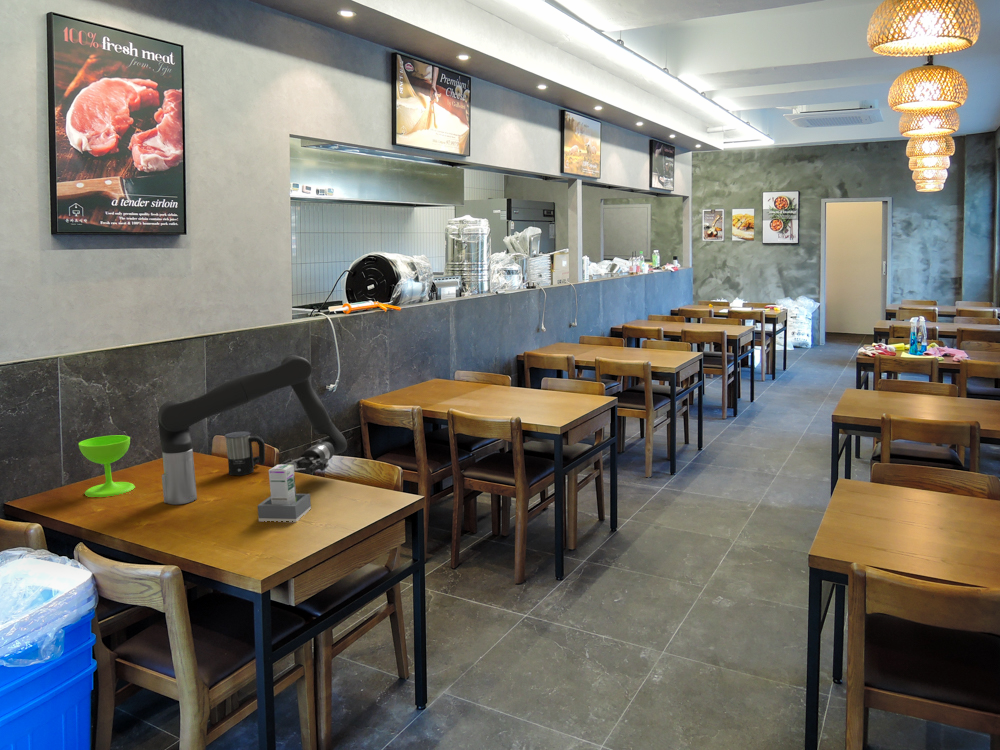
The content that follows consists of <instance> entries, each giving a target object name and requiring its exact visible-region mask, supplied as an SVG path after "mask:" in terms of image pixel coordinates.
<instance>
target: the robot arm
mask: <svg viewBox="0 0 1000 750" xmlns="http://www.w3.org/2000/svg"><path fill="white" fill-rule="evenodd" d="M312 371H313V367H312V364H311V363H310V361H309V360H308V359H306V358H305V357H302V356H300V355H296V354H294V355H293V354H292V355H291V354H290V355H287V356H286V357H284V358H283V359H282V360H281V363H280V365H278V366H276V367H274V368H272V369H269V370H264V371H259V372H253V373H249V374H245V375H241V376H238V377H234V378H233V379H230V380H227V381H225V382H223V383H221V384H218V385H217V386H216V387H214V388H212V389H211V390H209V391H208V392H207V393H204V394H203V395H201V396H198V397H195V398H193V399H190V400H187V401H182V402H180V401H177V400H169V401H166V402H164V403H163V404H161V406H160V407H159V409H158V412H157V421H158V422H157V423H158V432H159V441H160V446H161V452H162V453H161V454H162V461H163V462H162V463H163V465H162V466H163V474H161V484H162V485H161V486H162V490H163V491H162V493H163V502H164V503H165V504H168V505H175V506H176V505H183V504H189V503H193V502H195V501H196V500H197V499H198V495H197V494H198V493H197V483H196V482H197V481H196V474H195V471H196V470H195V463H194V462H195V461H194V450H193V441H192V436H191V431H190V427H191V426H193V425H195V424H197V423H199V422H201V421H203V420H205V419H207V418H209V417H212V416H216V415H219V414H221V413H225V412H227V411H230V410H233V409H236V408H238V407H241V406H243V405H246V404H249V403H250V402H252V401H255V400H257V399H259V398H262V397H265V396H266V395H269V394H271V393H273V392H275V391H278V390H281V389H283V388H287V387H291V388H292V390H293V391H294V394H295V395H296V396H297V398H298V400H299V403H300V404H301V406H302V409H303V412H305V415H306V417H307V420H308V421H309V423H310V426H311V427H312V430H313V432H314V433H315V434H316V435H326V437H323V438H320V439H319V440H317V441H316V444H315V445H312V446H311V447H308V448H307V449H306V450H305V451H303V452H302V454H301V455H300V457H299V458H296V459H293V458H291V457H290V458H288V459H285V460H284V461H282V462H281V464H290V465H294V472H295V471H300V470H305V471H308V474H311V475H312V474H313V473H315V472H318V471H319V470H320V472H323V471H325V470H326V469H327V468H328V467H329V461H330V460H331V459H332V457H333V456H335V455H339V454H341V453H344V452H346V450H347V448H348V442H347V439H346V437H345V436H344V435H343V433H342V432H341V430H339V429H338V427H336V425H335V424H334V422H333V421H332V419H331V417H330V415H329V413H328V411H327V409H326V407H325V405H324V404H323V402H322V401H321V399H320V397H319V396H318V395H317V393H316V392H315V390H314V388H313V386H312V384H311V381H310V379H309V378H310V377H311V375H312ZM194 500H195V501H194Z"/></svg>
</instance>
